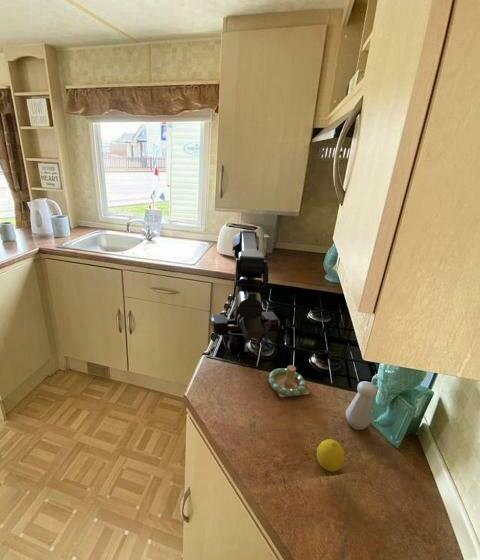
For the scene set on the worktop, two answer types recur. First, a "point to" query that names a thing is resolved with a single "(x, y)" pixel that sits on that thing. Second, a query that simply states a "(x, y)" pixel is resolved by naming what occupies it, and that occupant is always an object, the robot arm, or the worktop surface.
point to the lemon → (330, 455)
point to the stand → (289, 380)
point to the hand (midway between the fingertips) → (241, 346)
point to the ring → (282, 390)
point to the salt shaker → (361, 406)
